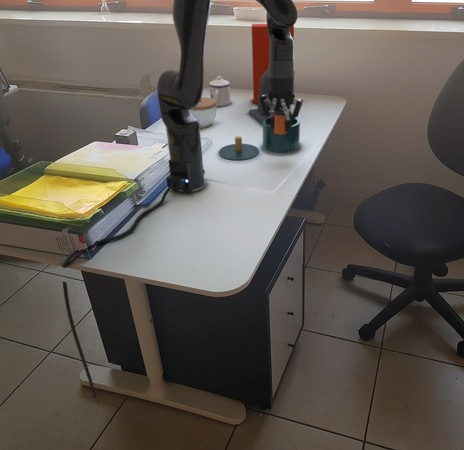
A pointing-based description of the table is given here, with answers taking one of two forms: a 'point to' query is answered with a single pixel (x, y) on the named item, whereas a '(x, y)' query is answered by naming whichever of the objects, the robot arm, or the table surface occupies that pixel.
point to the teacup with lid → (220, 91)
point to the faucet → (264, 89)
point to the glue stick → (279, 121)
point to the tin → (281, 138)
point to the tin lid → (238, 151)
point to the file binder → (261, 54)
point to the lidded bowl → (205, 111)
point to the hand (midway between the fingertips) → (280, 129)
